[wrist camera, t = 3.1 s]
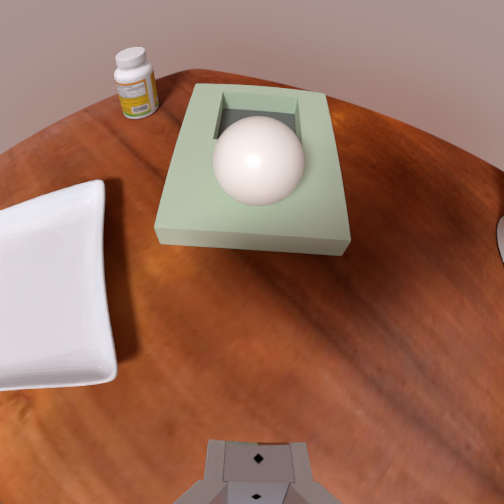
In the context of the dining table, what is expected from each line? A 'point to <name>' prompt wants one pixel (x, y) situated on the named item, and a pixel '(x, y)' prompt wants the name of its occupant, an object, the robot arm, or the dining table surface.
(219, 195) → the putting deck
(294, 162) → the ball
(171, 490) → the dining table surface
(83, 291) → the salad plate
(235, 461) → the robot arm
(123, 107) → the supplement bottle
